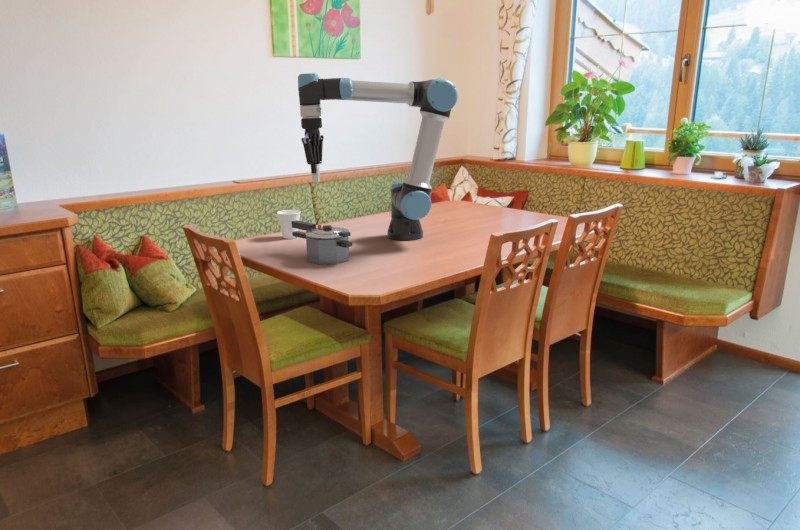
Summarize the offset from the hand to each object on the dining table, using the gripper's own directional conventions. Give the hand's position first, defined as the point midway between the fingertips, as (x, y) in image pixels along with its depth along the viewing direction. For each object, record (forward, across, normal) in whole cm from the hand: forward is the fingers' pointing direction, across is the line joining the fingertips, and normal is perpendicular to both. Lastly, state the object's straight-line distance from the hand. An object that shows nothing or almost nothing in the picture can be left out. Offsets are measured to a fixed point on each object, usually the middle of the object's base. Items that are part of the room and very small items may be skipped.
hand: (316, 181), depth 228 cm
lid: (+17, -10, -6) cm, 21 cm away
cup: (+26, +14, +23) cm, 38 cm away
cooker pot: (+27, -10, -6) cm, 29 cm away
